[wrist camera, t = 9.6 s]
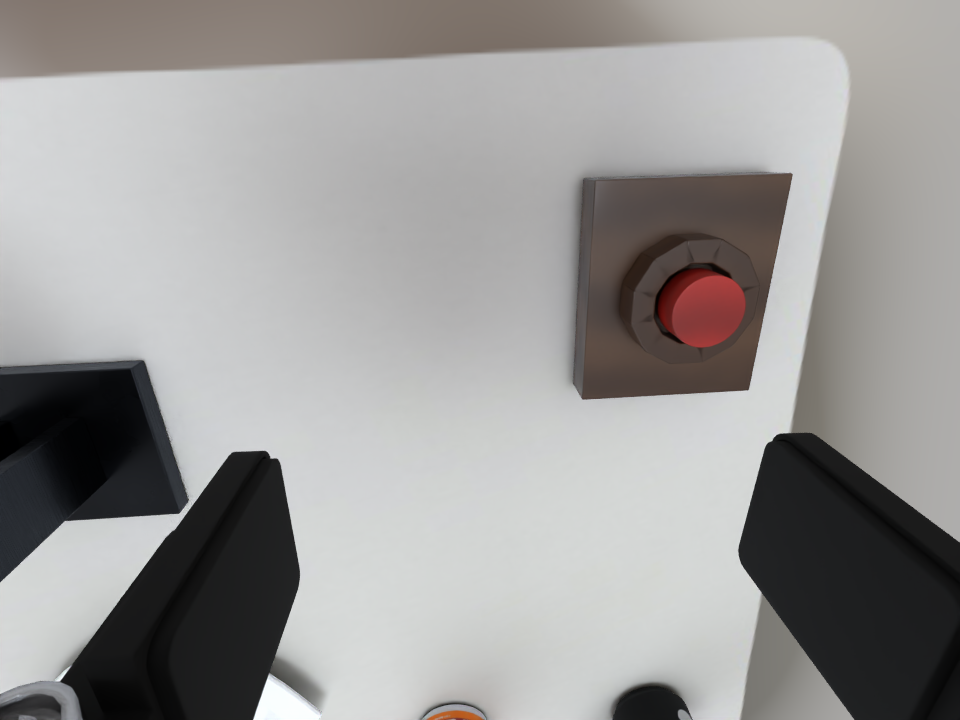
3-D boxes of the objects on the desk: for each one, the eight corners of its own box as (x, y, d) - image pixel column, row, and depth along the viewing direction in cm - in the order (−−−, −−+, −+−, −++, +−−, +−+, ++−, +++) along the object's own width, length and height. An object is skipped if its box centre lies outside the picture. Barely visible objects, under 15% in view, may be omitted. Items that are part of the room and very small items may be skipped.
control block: (583, 178, 26) (606, 181, 22) (766, 172, 26) (819, 174, 22) (572, 383, 30) (590, 415, 27) (729, 375, 31) (767, 404, 27)
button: (661, 269, 24) (677, 277, 22) (732, 266, 24) (752, 273, 23) (653, 337, 25) (667, 349, 24) (720, 334, 26) (739, 346, 24)
